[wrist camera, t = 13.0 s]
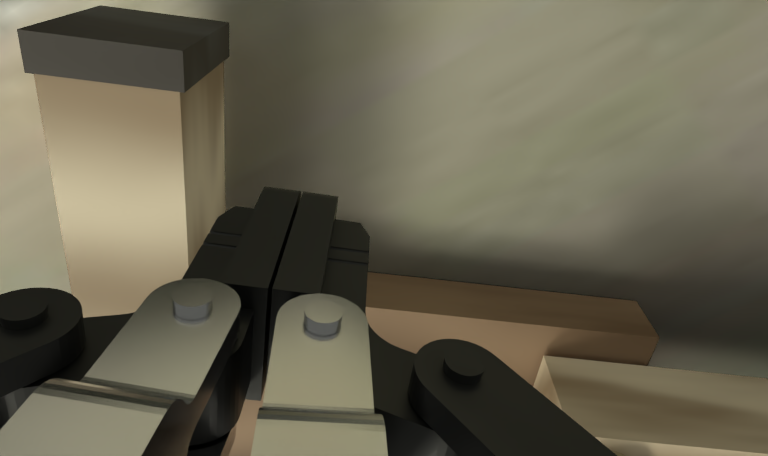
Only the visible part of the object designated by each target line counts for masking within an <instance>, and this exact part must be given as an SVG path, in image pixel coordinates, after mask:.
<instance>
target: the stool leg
mask: <svg viewBox="0 0 768 456" xmlns="http://www.w3.org/2000/svg"><path fill="white" fill-rule="evenodd" d="M17 32H18V37H19V43H20V48H21V54H22V59H23V65H24V71H25V73H32V74H34V78H35V83H36V89H37V95H38V101H39V106H40V112H41V118H42V124H43V130H44V135H45V141H46V147H47V153H48V159H49V164H50V170H51V176H52V182H53V187H54V193H55V199H56V205H57V211H58V216H59V222H60V228H61V234H62V239H63V245H64V251H65V257H66V263H67V268H68V274H69V280H70V286H71V291H72V295H73V296H74V297H76V298H77V299H78V300H79V302H80V304H81V306H82V312H83V318H85V317H97V316H109V315H120V314H128V313H133V312H136V310H137V309H138V308H139V306H140V305H141V304H142V303H143V301H144V300H145V299H146V298H147V296H148V295H149V294H150V293H151V292H153V291H154V290H155V289H157V288H158V287H160V286H162V285H164V284H167V283H169V282H173V281H176V280H181V279H182V278H183V276H184V274H185V273H186V271H187V269H188V268H189V266H190V264H191V262H192V261H193V259H194V257H195V256H196V254H197V252H198V250H199V249H200V247H201V245H203V242H204V240H205V238H206V237H207V235H208V233H210V230H211V228H212V226H213V225H214V223H215V221H216V219H217V218H218V216H220V215H222V214H223V213H225V136H224V60H226V59H227V58H228V57H229V23H228V22H221V21H213V20H206V19H198V18H191V17H183V16H176V15H168V14H160V13H153V12H145V11H138V10H130V9H123V8H115V7H108V6H97V7H94V8H90V9H87V10H83V11H80V12H76V13H73V14H69V15H66V16H62V17H59V18H55V19H52V20H48V21H44V22H41V23H37V24H34V25H30V26H27V27H23V28H20V29H17Z"/></svg>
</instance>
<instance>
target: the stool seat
mask: <svg viewBox="0 0 768 456" xmlns="http://www.w3.org/2000/svg"><path fill="white" fill-rule="evenodd" d="M366 318H367V321H368V323H369V325H370V327H371V328H372V329H373V331H374V332H375V333H376V334H377V335H378V336H379V337H381V338H382V339H384V340H385V341H387V342H388V343H390V344H392V345H394V346H397V347H399V348H401V349H404V350H407V351H410V352H412V353H415V354H417V352H418V351H419V350H420V348H422V347H423V346H424V345H426V344H427V343H429V342H432V341H435V340H440V339H459V340H464V341H468V342H471V343H474V344H477V345H479V346H481V347H483V348H485V349H487V350H488V351H490V352H491V353H492V354H494V355H495V356H496V357H498V358H499V359H500V360H501V361H502V362H504V363H505V364H506V365H507V366H509V367H510V368H511V369H512V370H513V371H515V372H516V373H517V374H518V375H520V376H521V377H522V378H523V379H524V380H526V381H527V382H528V383H529V384H531V385H532V386H533V387H534V388H535V389H537V390H538V391H539V392H540V393H542V394H543V395H544V396H545V397H546V398H548V399H549V400H550V401H551V402H552V403H554V404H555V405H556V406H557V407H559V408H560V409H561V410H562V411H563V412H565V413H566V414H567V415H568V416H570V417H571V418H572V419H573V420H574V421H576V422H577V423H578V424H579V425H581V426H582V427H583V428H584V429H585V430H587V431H588V432H589V433H590V434H592V435H593V436H594V437H595V438H596V439H598V440H599V441H600V442H601V443H602V444H604V445H605V446H606V447H607V448H609V449H610V450H611V451H612V452H613V453H615V454H616V455H617V456H768V379H767V378H757V377H748V376H738V375H728V374H719V373H709V372H699V371H690V370H680V369H670V368H660V367H651V366H647V365H648V363H649V361H650V358H651V356H652V354H653V352H654V350H655V347H656V345H657V343H658V341H659V336H658V334H657V333H656V331H655V330H654V328H653V327H652V325H651V323H650V322H649V320H648V319H647V317H646V316H645V314H644V312H643V311H642V309H641V308H640V306H639V305H638V303H637V302H636V301H631V300H622V299H613V298H603V297H594V296H585V295H576V294H566V293H557V292H548V291H539V290H529V289H520V288H511V287H502V286H492V285H483V284H474V283H465V282H455V281H446V280H437V279H428V278H418V277H409V276H400V275H391V274H381V273H372V272H368V276H367V294H366ZM265 386H266V383H265ZM264 393H265V387H264V391H263V395H262V398H261V401H257V400H248V399H245V401H244V404H243V408H242V411H241V414H240V417H239V419H238V421H237V425H236V437H235V441H234V443H233V446H232V448H231V451H230V453H229V456H251V451H252V445H253V439H254V432H255V426H256V421H257V415H258V411H259V408H260V407H262V405H263V399H264Z"/></svg>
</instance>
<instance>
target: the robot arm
mask: <svg viewBox="0 0 768 456" xmlns="http://www.w3.org/2000/svg"><path fill="white" fill-rule="evenodd" d="M337 203H338V197H337V196H330V195H323V194H315V193H308V192H303V194H302V197H301V192H300V191H293V190H285V189H278V188H271V187H264V189H263V191H262V193H261V195H260V197H259V200H258V202H257V204H256V206H255V208H254V209H252V208H244V207H237V206H235V207H233V208H232V209H230V210H228V211H227V212H225V213H223V214H222V215H220V216H218V218H217V219H216V221H215V223H214V225H213V226H212V228H211V230H210V233H208V235H207V237H206V238H205V240H204V242H203V245H201V247H200V249H199V250H198V252H197V254H196V256H195V257H194V259H193V261H192V262H191V264H190V266H189V268H188V269H187V271H186V273H185V274H184V276H183V278H182V279H181V280H176V281H173V282H169V283H167V284H164V285H162V286H160V287H158V288H157V289H155V290H154V291H153V292H151V293H150V294H149V295H148V296H147V298H146V299H145V300H144V301H143V303H142V304H141V305H140V306H139V308H138V309H137V310H136V312H133V313H128V314H120V315H109V316H97V317H85V318H83V312H82V306H81V304H80V302H79V300H78V299H77V298H76V297H74V296H73V295H72V294H70V293H67V292H65V291H62V290H58V289H52V288H28V289H20V290H16V291H11V292H8V293H4V294H1V295H0V456H229V453H230V451H231V448H232V446H233V443H234V441H235V437H236V425H237V421H238V419H239V417H240V414H241V411H242V408H243V404H244V401H245V399H248V400H257V401H261V398H262V395H263V391H264V387H265V393H264V399H263V405H262V407H260V408H259V411H258V415H257V421H256V426H255V432H254V439H253V445H252V451H251V456H617V455H616V454H615V453H613V452H612V451H611V450H610V449H609V448H607V447H606V446H605V445H604V444H602V443H601V442H600V441H599V440H598V439H596V438H595V437H594V436H593V435H592V434H590V433H589V432H588V431H587V430H585V429H584V428H583V427H582V426H581V425H579V424H578V423H577V422H576V421H574V420H573V419H572V418H571V417H570V416H568V415H567V414H566V413H565V412H563V411H562V410H561V409H560V408H559V407H557V406H556V405H555V404H554V403H552V402H551V401H550V400H549V399H548V398H546V397H545V396H544V395H543V394H542V393H540V392H539V391H538V390H537V389H535V388H534V387H533V386H532V385H531V384H529V383H528V382H527V381H526V380H524V379H523V378H522V377H521V376H520V375H518V374H517V373H516V372H515V371H513V370H512V369H511V368H510V367H509V366H507V365H506V364H505V363H504V362H502V361H501V360H500V359H499V358H498V357H496V356H495V355H494V354H492V353H491V352H490V351H488V350H487V349H485V348H483V347H481V346H479V345H477V344H474V343H471V342H468V341H464V340H459V339H440V340H435V341H432V342H429V343H427V344H426V345H424V346H423V347H422V348H420V350H419V351H418V352H417V354H415V353H412V352H410V351H407V350H404V349H401V348H399V347H397V346H394V345H392V344H390V343H388V342H387V341H385V340H384V339H382V338H381V337H379V336H378V335H377V334H376V333H375V332H374V331H373V329H372V328H371V327H370V325H369V323H368V321H367V318H366V294H367V276H368V258H369V240H370V237H369V235H368V234H367V232H366V231H365V229H364V228H363V226H362V225H361V223H357V222H349V221H342V220H336V212H337ZM265 383H266V386H265Z"/></svg>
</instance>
